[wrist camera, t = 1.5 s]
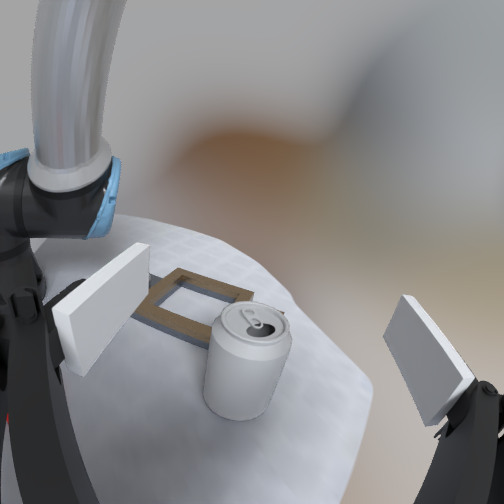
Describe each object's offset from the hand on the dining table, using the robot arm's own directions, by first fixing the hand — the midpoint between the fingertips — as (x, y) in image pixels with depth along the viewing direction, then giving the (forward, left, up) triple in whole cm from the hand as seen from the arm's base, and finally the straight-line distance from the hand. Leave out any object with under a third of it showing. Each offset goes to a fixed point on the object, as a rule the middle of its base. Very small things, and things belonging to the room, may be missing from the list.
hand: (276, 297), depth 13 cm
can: (-2, +9, -20) cm, 21 cm away
